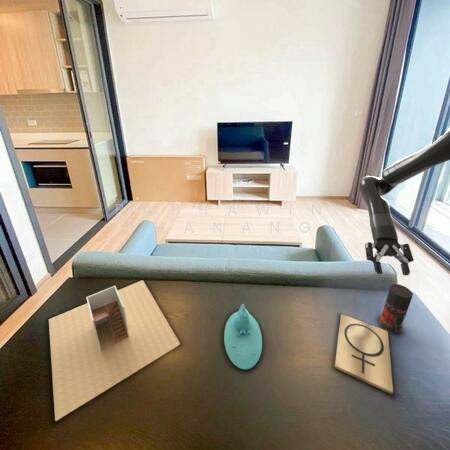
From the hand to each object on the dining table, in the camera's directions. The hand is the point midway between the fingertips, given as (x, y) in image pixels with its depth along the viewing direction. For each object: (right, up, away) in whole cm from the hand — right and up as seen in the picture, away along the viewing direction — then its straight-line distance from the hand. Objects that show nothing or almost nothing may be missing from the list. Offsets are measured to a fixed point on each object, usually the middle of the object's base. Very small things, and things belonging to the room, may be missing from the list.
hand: (393, 274), depth 82 cm
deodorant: (0, -18, +1) cm, 18 cm away
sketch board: (-14, -21, -7) cm, 26 cm away
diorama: (-51, -19, -3) cm, 54 cm away
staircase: (-94, -18, -1) cm, 96 cm away
